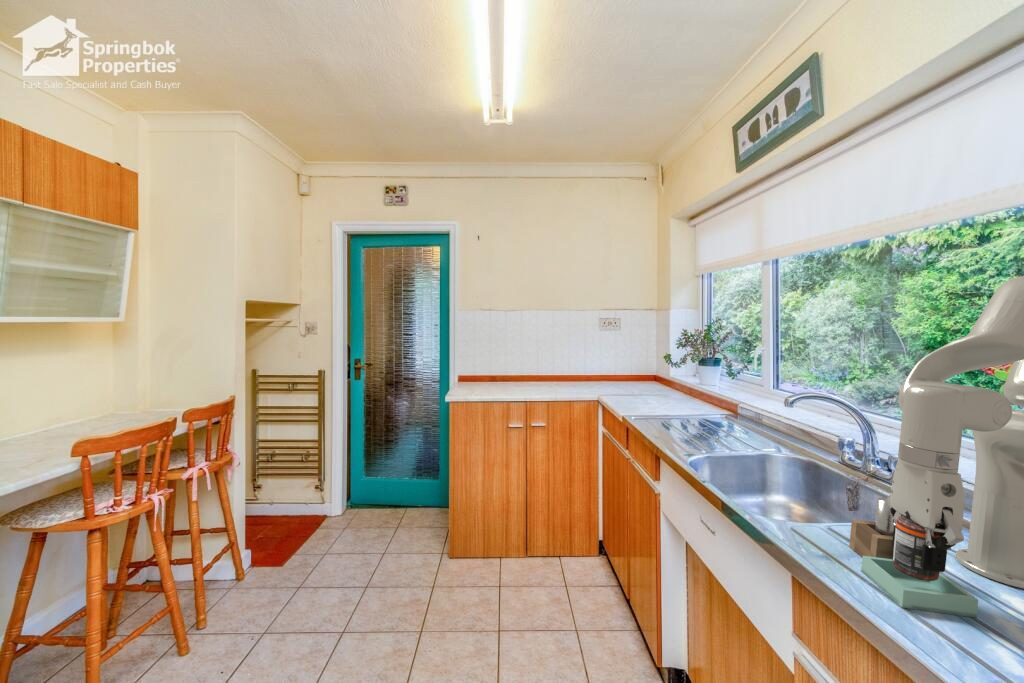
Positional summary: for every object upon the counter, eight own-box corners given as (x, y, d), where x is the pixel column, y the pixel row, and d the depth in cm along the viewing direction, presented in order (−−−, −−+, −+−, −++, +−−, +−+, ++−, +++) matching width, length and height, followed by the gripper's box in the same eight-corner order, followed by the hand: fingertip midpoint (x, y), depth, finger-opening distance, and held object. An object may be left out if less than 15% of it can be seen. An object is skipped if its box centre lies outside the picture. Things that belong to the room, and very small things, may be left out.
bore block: (892, 552, 89) (894, 523, 89) (922, 574, 81) (925, 543, 81) (849, 547, 91) (851, 519, 90) (874, 568, 83) (877, 538, 82)
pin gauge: (887, 556, 87) (891, 498, 87) (898, 565, 84) (902, 505, 84) (869, 554, 88) (873, 496, 87) (879, 563, 85) (884, 503, 84)
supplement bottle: (918, 565, 78) (925, 503, 77) (948, 584, 72) (956, 518, 72) (883, 561, 79) (889, 500, 78) (910, 580, 73) (916, 515, 72)
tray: (924, 579, 80) (926, 563, 80) (976, 617, 69) (978, 599, 69) (861, 571, 82) (862, 555, 81) (902, 607, 71) (903, 589, 71)
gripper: (1000, 477, 65) (987, 593, 66) (914, 445, 82) (904, 537, 83) (944, 471, 66) (931, 585, 67) (870, 441, 83) (861, 532, 84)
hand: (917, 558), depth 75 cm, fingers closed on supplement bottle, 6 cm apart
